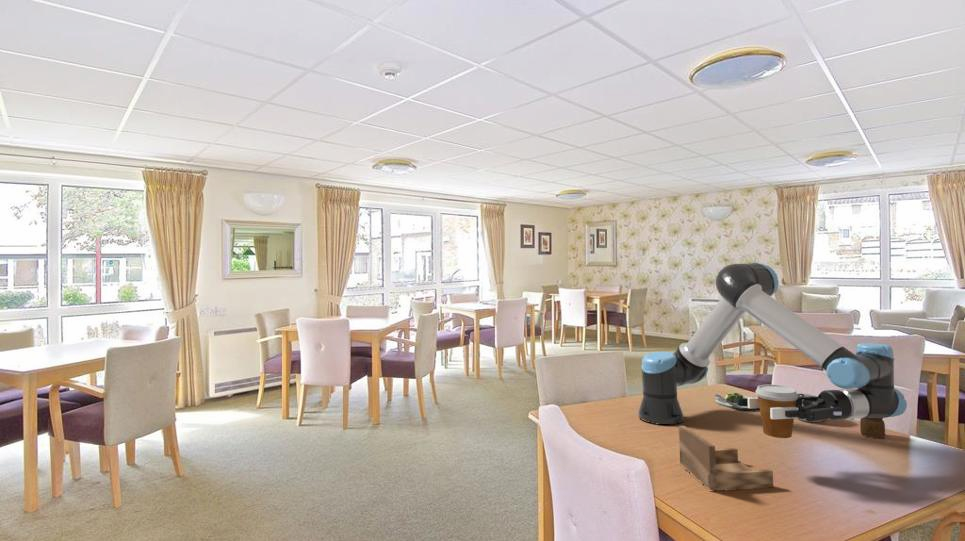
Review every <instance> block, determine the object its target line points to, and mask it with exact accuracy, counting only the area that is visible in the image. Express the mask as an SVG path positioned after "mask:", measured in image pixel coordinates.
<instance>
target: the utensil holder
mask: <svg viewBox="0 0 965 541" xmlns="http://www.w3.org/2000/svg"><path fill="white" fill-rule="evenodd" d="M859 419H860V420H859V423H860V424H859V425H860V426H859V428H860V429H859V430H860V434H861V435H862V436H864V435H865V436H864V437H866V436H868V437H867V438H870V437H873V438H872V439H876V438H882V439H884V438H885V437H886V425H885V424H886V423H885V421H884V420H883V419H884V418H882V417H881V418H859Z"/></svg>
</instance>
